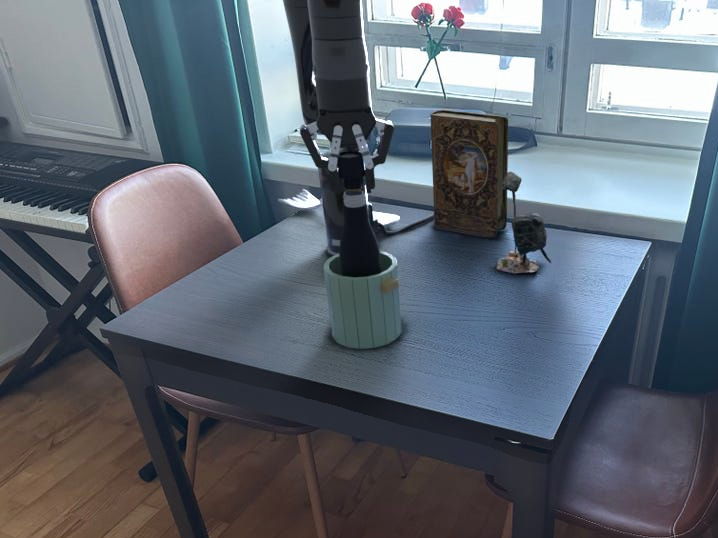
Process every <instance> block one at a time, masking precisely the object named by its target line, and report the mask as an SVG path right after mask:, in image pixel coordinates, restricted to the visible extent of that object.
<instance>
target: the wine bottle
mask: <svg viewBox="0 0 718 538" xmlns="http://www.w3.org/2000/svg"><path fill="white" fill-rule="evenodd" d="M337 163H338V171H339V177H340V178H342V179H344V185H345V187H344V189H345V190H346V191H345V192H344V195H343V198H344V204H343V215H344V225H343V229H342V234H341V238H340V248H339V256H340V265H341V274H342V276H346V277H367V276H372V275H376V274H379V273H382V272H381V260H380V251H381V250H380V246H379V243H378V240H377V237H376V233H375V232H373V229H372V227H371V225H370V223H369V219H368V208H367V203H365V198H364V197H365V194H364V192H363V191H361V189H362V186H361V178H362V177H364V176H365V171H364V160H363V157H362V155H361V152H359V151H344V152H340V153H339V156H338V161H337ZM374 233H375V234H374Z"/></svg>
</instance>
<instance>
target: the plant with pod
mask: <svg viewBox="0 0 718 538" xmlns="http://www.w3.org/2000/svg"><path fill="white" fill-rule="evenodd" d="M522 181H523V180H522V177H520V176H519V175H518V174H517V173H515V172H513V171H508V173H507V175H506V177H505V178H504V180H503V182H502V186H503V187H502V188H501V189H500V192H502V191H503V189H506V190H507V191H509V192H511V193H512V194H511V195H512V197H511V198H512V203H513V219H512V221H511V230H512V233H513V234H512V235H513V240H514V250H513V251H512V250H510V251H509V252H508V256H506V257H499V258H498V260H497V262H495V265H493V268H494V269H495V270H498V271H501V272H507V273H509V274H511V273H512V274H513V275H514V274H523V273H525V274H526V273H537V271H538V270H539V267H540V266H541V264H540V263H539V260H534V259H530V258H528V256H527V254H529V253H535V252H536V251H540V252H541V254H542V255H543V257H544V258H545V260H546V261H547V262H548V263H549V264H552V259H551V258H550V257H548V254H547V253H546V251H545V249H544V248H545V247H546V246H547V239H548V238H547V237H548V234H547V229H546V226H545V223H544V219H543V218H542V216H541V215H539V214H538V213H536V212H535V213H526V214H521V215H519V216H518V215H516V214H517V207H516V198H517V197H516V192H518V191H519V188H520V186H521V183H522Z"/></svg>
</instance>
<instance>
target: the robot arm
mask: <svg viewBox="0 0 718 538" xmlns="http://www.w3.org/2000/svg"><path fill="white" fill-rule="evenodd" d="M362 1H363V0H282V3H283V7H284V11H285V16H286V20H287V21H286V22H287V24H288V30H289V34H290V39H291V44H292V50H293V55H294V62H295V70H296V76H297V77H296V78H297V84H298V93H299V94H298V95H299V102H300V109H301V114H302V119H303V123H304V124H301V126H300V127H299V135H300V137H301V139H302V141H303V144H304V145H305V147H306V149H307V151H308V153H309V156H310V157H311V159H312V161H313V164H314V165H315V167H316V168H317V172H318V178H319V186H320V195H321V203H322V204H323V206H322V211H323V212H322V213H323V216H324V217H323V218H324V219H323V221H324V226H325V235H326V243H327V247H326V248H327V253H328V254H329V255H330V257H332V256H335V255H337V254H339V248H340V238H341V234H342V229H343V225H344V215H343V204H344V198H343V195H344V192H345V191H346V190H345V189H344V187H345V185H344V179H342V178H340V177H339V171H338V163H337V161H338V156H339V153H340V152H344V151H359V152H361V155H362V157H363V160H364V171H365V176H364V177H362V178H361V186H362V189H361V191H363V192H364V194H365V197H364V198H365V203H367V208H368V219H369V223H370V225H371V227H372V229H373V232H374V234H375V235H376V233H377V232H379V231H380V230H379V229H381V232H382V233H383V235H385V236H393V235H397V234H400V233H404V232H407V231H409V230H410V229H412V228H415V227H418V226H419V225H422V224H424V223H426V222H428V221H430V220H432V219H434V212H433V213H431V214H429V215H427V216H425V217H423V218H421V219H419V220H416V221H414V222H411V223H409V224H408V225H406V226H404V227H402V228H400V229H398V230H392V231H389V230H387V229H386V227H385V226H384V225H383V224H382V223H380V222H378V219H376V218H373V212H374V211H373V210H374V209H373V205H372V203H370V202H369V196H368V194H372V190H375V188H376V179H375V168H376V167H377V166H379V165H383V164H385V163H386V160H387V157H388V154H389V150H390V146H391V142H392V138H393V134H394V130H395V127H394V124H393V122H392V121H391V120H390V119H387V120H383V119H378V118H376V115H375V113H374V112H373V108H372V95H371V84H370V83H371V82H370V65H369V59H368V57H369V56H368V51H367V46H366V41H365V40H366V39H365V32H364V31H365V30H364V19H363V3H362ZM375 128H377V134H378V135H379V137H380V138H379V141H378V145H377V150H376V153H375V154H371V152H370V148H369V146H368V143H367V140H368V138H369V136H370V135H371V133H372V132H373V131H374V129H375ZM318 136H324V137H325V138H326V139H327V140H328V141H329V143H330V144H329V150H328V151H325V152H323V153H322V152H321V151H320V149H319V147H318V144H317V143H316V140H317V138H318ZM378 227H380V228H378Z"/></svg>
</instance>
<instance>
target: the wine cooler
mask: <svg viewBox="0 0 718 538" xmlns="http://www.w3.org/2000/svg"><path fill="white" fill-rule="evenodd" d="M380 260H381V272H382V273H379V274H376V275H372V276H367V277H346V276H342V274H341V265H340V256H339V254H337V255H335V256H330V257H329V258H327V260H326V261H324V264H323V275H324V282H325V291H326V298H327V305H328V313H329V322H330V328H331V336H332V338H333V339H334V341H335V342H336V343H337V344H339V345H342V346H343V347H346V348H350V349H357V350H360V349H361V350H363V349H364V350H365V349H366V350H367V349H375V348H379V347H383V346H386V345H389V344H390V343H392V342H394V341H396V340H397V339H398V338H399V337H400V335H401V334H402V317H401V302H400V299H401V298H400V284H399V283H400V282H399V273H398V272H399V271H398V260H397V258H396V257H395V256H393V254H391V253H388V252H385V251H383V250H380Z"/></svg>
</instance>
